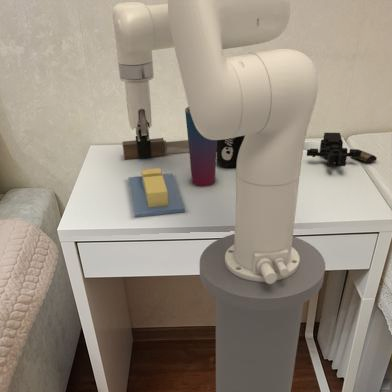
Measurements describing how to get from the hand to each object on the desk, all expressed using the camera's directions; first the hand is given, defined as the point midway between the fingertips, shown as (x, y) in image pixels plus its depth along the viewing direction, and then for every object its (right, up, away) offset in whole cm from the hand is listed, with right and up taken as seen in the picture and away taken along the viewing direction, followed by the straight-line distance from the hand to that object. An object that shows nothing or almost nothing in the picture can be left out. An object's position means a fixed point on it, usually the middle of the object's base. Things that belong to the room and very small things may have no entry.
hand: (144, 153), depth 122 cm
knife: (+4, 0, +1) cm, 5 cm away
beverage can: (+21, -4, -5) cm, 22 cm away
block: (+52, -3, -5) cm, 52 cm away
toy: (+44, -8, -13) cm, 46 cm away
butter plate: (+4, -15, -17) cm, 23 cm away
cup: (+14, -11, -12) cm, 22 cm away
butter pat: (+3, -12, -14) cm, 19 cm away
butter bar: (+5, -17, -19) cm, 26 cm away
